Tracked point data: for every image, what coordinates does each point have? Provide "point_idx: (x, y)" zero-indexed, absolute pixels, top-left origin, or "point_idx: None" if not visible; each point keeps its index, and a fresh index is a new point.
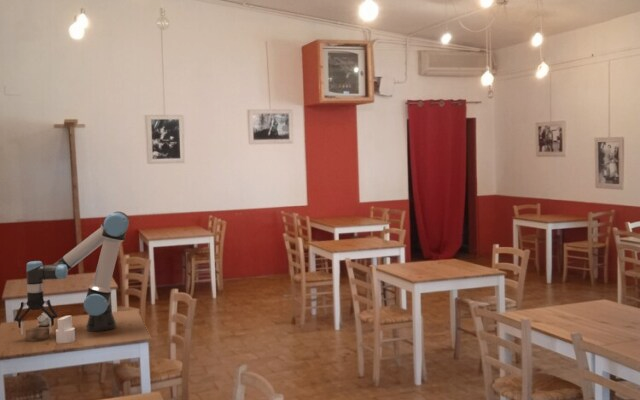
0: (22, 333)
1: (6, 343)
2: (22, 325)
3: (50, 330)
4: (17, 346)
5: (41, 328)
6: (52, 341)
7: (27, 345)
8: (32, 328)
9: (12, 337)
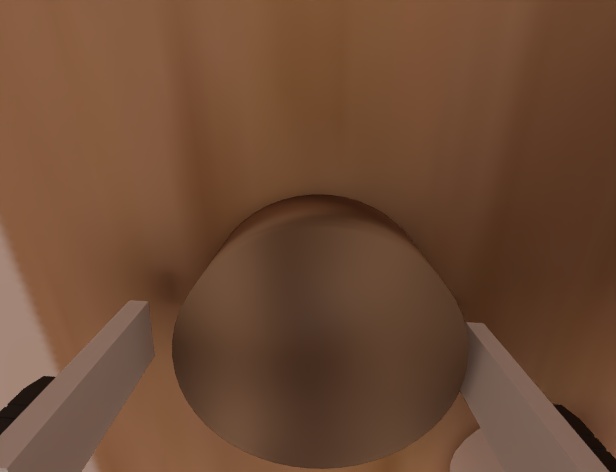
0: (146, 365)
1: (45, 320)
2: (85, 454)
3: (466, 390)
4: (170, 447)
5: (372, 325)
6: (427, 433)
7: (242, 454)
8: (246, 257)
9: (15, 65)
